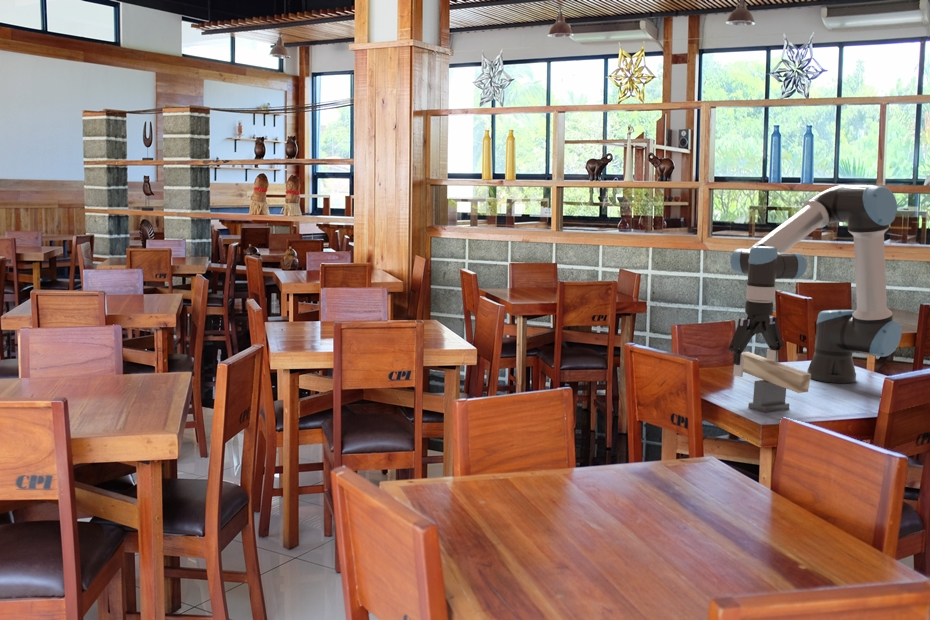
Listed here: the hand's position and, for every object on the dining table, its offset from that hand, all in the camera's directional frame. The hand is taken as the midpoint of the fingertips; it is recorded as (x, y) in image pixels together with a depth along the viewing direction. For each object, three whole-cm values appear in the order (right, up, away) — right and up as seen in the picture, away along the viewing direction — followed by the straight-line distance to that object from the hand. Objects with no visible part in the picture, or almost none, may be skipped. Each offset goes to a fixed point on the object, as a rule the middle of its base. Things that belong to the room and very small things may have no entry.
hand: (754, 374), depth 261 cm
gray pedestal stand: (+3, -9, -4) cm, 11 cm away
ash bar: (+3, -1, -5) cm, 6 cm away
